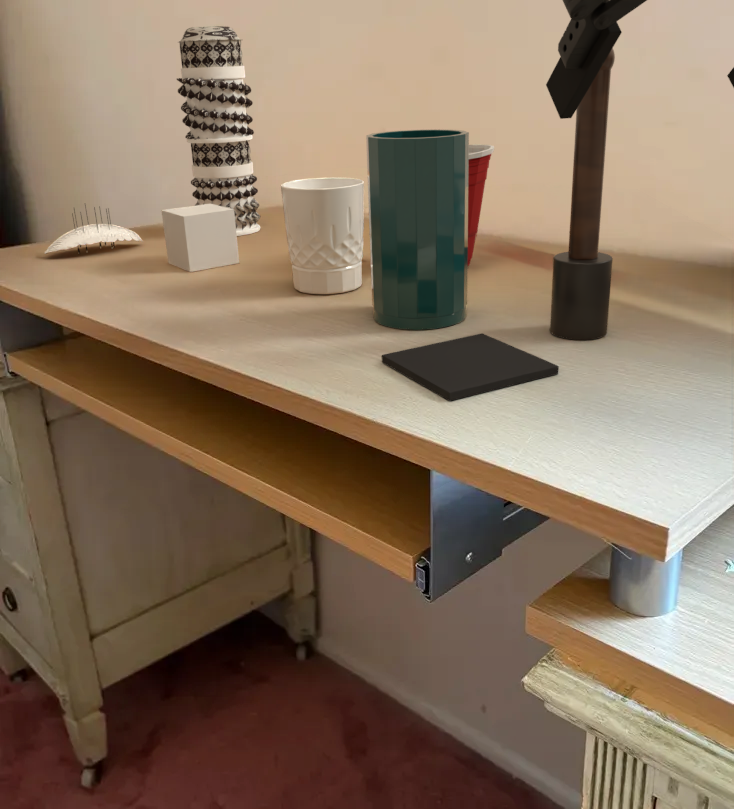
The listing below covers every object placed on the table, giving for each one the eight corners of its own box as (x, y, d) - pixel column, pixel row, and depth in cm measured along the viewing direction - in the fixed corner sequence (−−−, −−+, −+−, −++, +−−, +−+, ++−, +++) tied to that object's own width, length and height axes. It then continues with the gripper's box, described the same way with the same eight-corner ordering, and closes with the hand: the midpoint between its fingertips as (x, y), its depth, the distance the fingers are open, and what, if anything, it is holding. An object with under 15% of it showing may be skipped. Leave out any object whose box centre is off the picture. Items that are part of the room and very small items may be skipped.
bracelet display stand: (179, 234, 111) (154, 29, 101) (228, 222, 118) (209, 29, 108) (228, 240, 106) (207, 24, 96) (276, 227, 113) (261, 25, 103)
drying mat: (482, 340, 65) (482, 333, 64) (558, 374, 57) (559, 365, 57) (381, 362, 61) (381, 354, 61) (449, 401, 53) (449, 392, 53)
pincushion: (51, 262, 97) (42, 213, 95) (40, 254, 102) (31, 207, 100) (150, 248, 103) (144, 201, 101) (135, 240, 108) (129, 196, 105)
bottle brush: (580, 320, 69) (598, 39, 60) (619, 333, 65) (643, 36, 57) (538, 329, 67) (551, 41, 59) (575, 343, 63) (594, 38, 55)
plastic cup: (391, 255, 94) (388, 144, 90) (487, 252, 94) (489, 141, 89) (390, 278, 84) (387, 155, 80) (497, 275, 84) (500, 151, 79)
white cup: (276, 283, 84) (268, 182, 80) (346, 272, 87) (341, 175, 83) (307, 301, 77) (300, 191, 73) (382, 288, 80) (378, 183, 77)
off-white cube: (190, 272, 90) (183, 216, 88) (168, 263, 95) (161, 210, 92) (239, 263, 93) (234, 209, 91) (216, 254, 98) (210, 203, 95)
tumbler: (433, 298, 76) (432, 127, 71) (485, 319, 70) (488, 132, 64) (357, 313, 73) (349, 134, 67) (403, 335, 66) (399, 140, 61)
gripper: (697, -251, 29) (493, 156, 48) (1176, -211, 36) (833, 130, 55) (620, -373, 32) (456, 58, 51) (1080, -314, 39) (784, 45, 58)
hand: (652, 96), depth 53 cm, fingers open, 13 cm apart
